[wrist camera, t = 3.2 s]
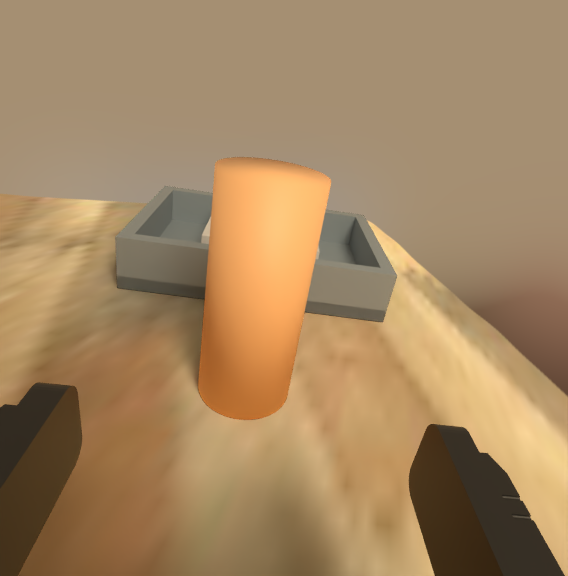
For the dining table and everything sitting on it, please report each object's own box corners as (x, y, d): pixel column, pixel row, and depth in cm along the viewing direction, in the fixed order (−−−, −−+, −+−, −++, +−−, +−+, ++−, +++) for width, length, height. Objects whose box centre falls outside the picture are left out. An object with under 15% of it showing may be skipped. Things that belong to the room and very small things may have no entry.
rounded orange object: (190, 414, 21) (206, 176, 16) (205, 353, 26) (222, 152, 20) (288, 424, 22) (337, 195, 16) (287, 363, 26) (325, 168, 21)
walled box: (117, 288, 31) (115, 236, 29) (164, 224, 43) (165, 185, 41) (382, 322, 32) (397, 275, 30) (354, 251, 45) (363, 215, 43)
